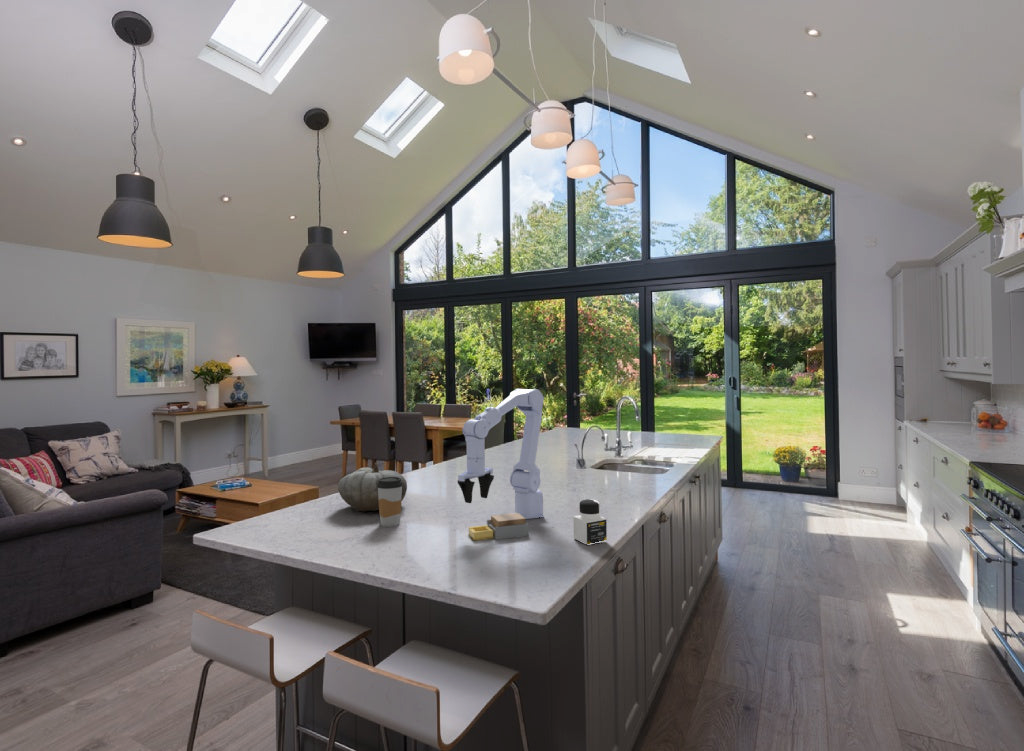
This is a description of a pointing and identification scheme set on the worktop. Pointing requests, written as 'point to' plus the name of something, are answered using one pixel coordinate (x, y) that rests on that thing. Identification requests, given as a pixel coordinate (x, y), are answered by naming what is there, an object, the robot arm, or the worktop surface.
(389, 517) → the coffee cup
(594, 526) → the medicine bottle
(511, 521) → the cover
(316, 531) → the worktop surface
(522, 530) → the grey piece
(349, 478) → the gourd
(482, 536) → the yellow square tray
